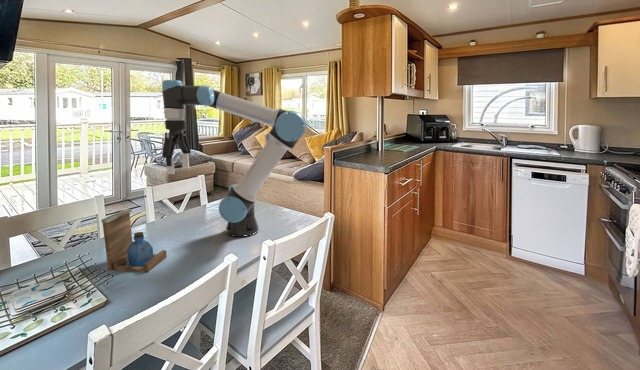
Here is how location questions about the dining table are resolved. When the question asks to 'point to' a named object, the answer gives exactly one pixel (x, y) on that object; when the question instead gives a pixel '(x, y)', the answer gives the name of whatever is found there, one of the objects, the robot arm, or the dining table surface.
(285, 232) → the dining table surface
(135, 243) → the perfume bottle
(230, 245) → the dining table surface
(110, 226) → the wooden l-shaped stand
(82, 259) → the dining table surface
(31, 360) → the dining table surface
